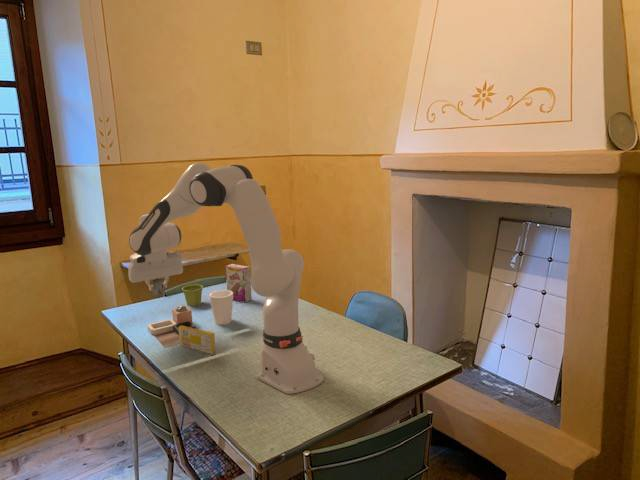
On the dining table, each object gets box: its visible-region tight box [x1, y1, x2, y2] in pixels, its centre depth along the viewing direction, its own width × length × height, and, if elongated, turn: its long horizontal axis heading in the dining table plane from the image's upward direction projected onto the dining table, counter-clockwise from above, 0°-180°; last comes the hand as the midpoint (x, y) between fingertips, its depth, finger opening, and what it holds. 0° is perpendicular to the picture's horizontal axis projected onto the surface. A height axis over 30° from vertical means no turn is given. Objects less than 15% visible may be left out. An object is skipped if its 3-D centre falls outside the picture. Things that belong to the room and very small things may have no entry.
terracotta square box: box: [171, 305, 194, 325], centre depth 191 cm, size 6×6×6 cm
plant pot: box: [181, 284, 204, 307], centre depth 215 cm, size 9×9×9 cm
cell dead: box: [176, 305, 186, 313], centre depth 191 cm, size 4×4×8 cm
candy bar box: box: [225, 263, 253, 303], centre depth 220 cm, size 11×5×16 cm, turn 58°
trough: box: [146, 318, 177, 336], centre depth 187 cm, size 8×10×2 cm
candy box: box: [178, 325, 216, 357], centre depth 169 cm, size 16×2×8 cm, turn 60°
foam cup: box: [208, 289, 234, 326], centre depth 192 cm, size 10×9×13 cm
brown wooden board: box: [152, 321, 199, 349], centre depth 184 cm, size 22×16×3 cm
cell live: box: [151, 277, 165, 299], centre depth 183 cm, size 4×4×8 cm
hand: (158, 288), depth 184 cm, fingers closed on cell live, 4 cm apart
